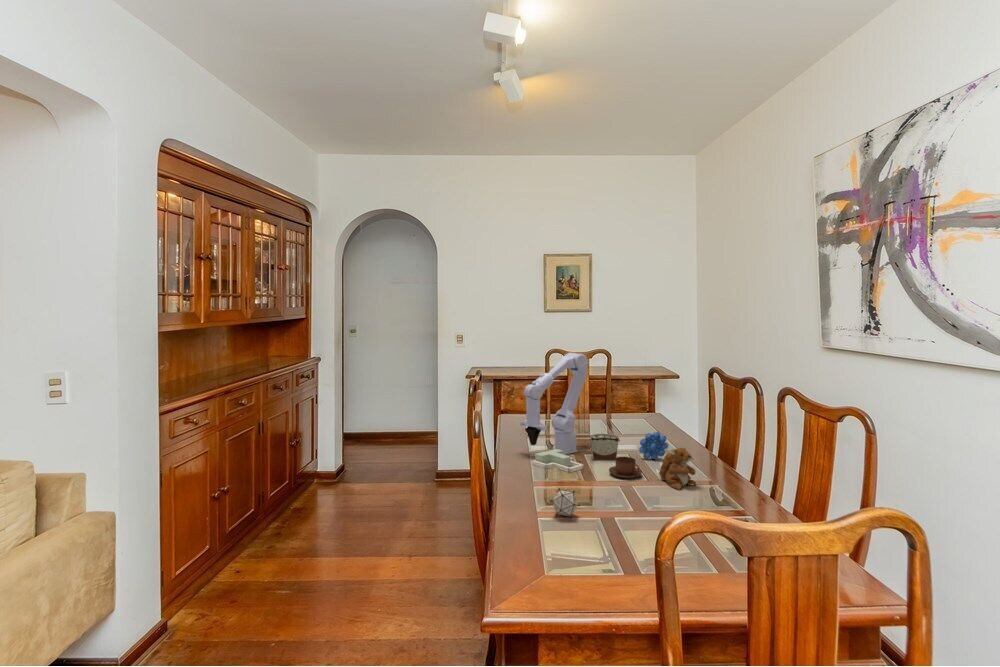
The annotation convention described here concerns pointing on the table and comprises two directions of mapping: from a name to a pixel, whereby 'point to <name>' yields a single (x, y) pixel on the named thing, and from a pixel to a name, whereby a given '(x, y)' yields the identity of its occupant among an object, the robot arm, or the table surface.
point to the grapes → (653, 445)
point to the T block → (553, 457)
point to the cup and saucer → (625, 468)
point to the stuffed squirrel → (677, 468)
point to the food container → (604, 447)
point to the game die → (565, 503)
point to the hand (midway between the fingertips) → (533, 444)
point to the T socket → (560, 466)
